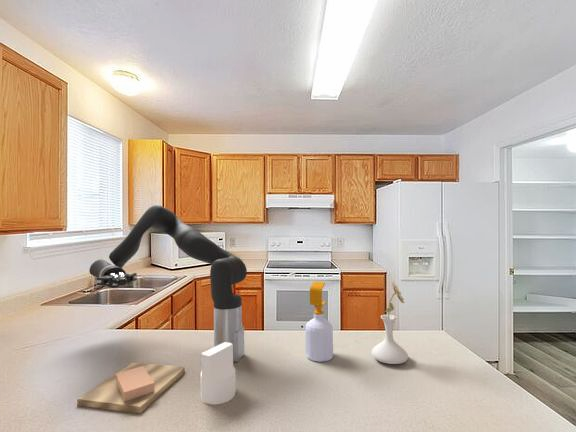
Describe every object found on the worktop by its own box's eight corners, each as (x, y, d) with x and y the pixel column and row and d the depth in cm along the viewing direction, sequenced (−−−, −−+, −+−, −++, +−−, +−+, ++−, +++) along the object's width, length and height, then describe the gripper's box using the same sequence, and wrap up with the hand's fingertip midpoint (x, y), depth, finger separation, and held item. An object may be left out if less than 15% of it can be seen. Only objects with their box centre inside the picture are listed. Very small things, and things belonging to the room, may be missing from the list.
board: (185, 372, 92) (184, 367, 92) (140, 413, 73) (140, 406, 73) (133, 367, 96) (133, 362, 96) (77, 405, 76) (77, 398, 76)
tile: (115, 373, 84) (124, 392, 74) (143, 365, 88) (154, 382, 79) (115, 382, 84) (124, 402, 74) (143, 374, 88) (154, 392, 79)
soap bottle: (336, 352, 104) (334, 281, 105) (328, 364, 96) (326, 286, 96) (311, 348, 108) (310, 279, 108) (302, 359, 100) (300, 284, 100)
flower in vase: (399, 371, 90) (397, 287, 91) (365, 360, 98) (363, 282, 99) (415, 357, 100) (414, 280, 101) (383, 347, 108) (381, 277, 108)
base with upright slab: (218, 408, 74) (217, 359, 74) (193, 397, 79) (192, 351, 79) (242, 390, 82) (241, 345, 82) (218, 381, 87) (217, 339, 87)
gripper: (90, 267, 107) (98, 273, 94) (132, 263, 116) (144, 268, 102) (91, 289, 107) (99, 297, 94) (132, 283, 116) (144, 290, 102)
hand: (122, 282), depth 98 cm, fingers closed
